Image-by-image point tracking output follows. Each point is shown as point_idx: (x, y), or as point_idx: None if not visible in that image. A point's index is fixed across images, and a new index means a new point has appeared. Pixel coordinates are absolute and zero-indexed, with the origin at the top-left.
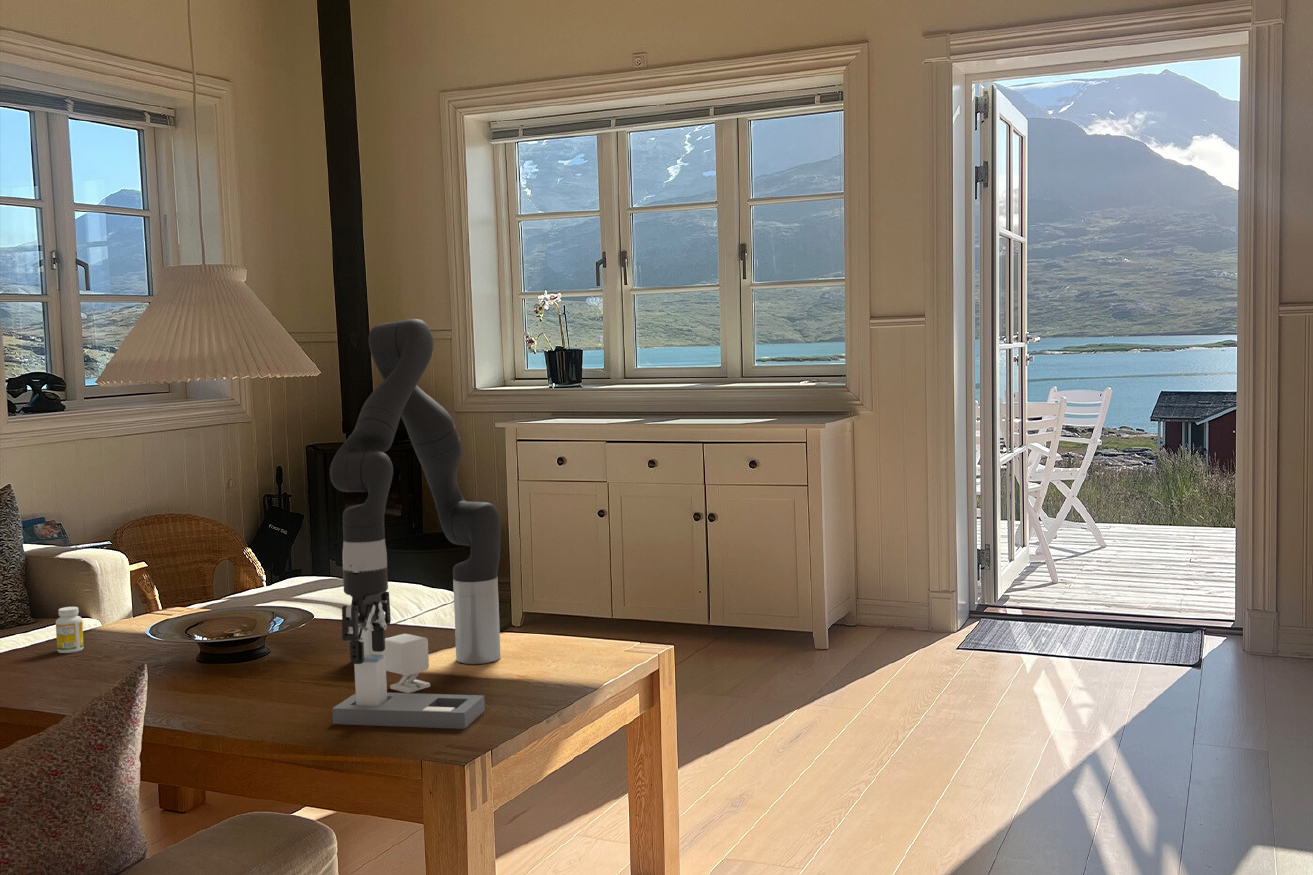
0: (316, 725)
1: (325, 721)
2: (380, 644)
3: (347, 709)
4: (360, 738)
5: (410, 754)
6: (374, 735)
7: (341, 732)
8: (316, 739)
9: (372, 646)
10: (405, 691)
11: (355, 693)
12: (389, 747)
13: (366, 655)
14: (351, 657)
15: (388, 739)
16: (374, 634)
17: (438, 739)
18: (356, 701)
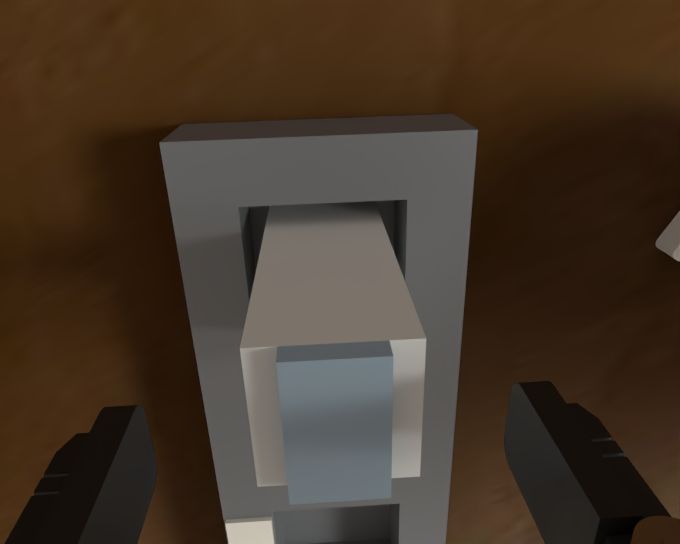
0: (186, 19)
1: (255, 34)
2: (526, 476)
3: (175, 226)
4: (89, 308)
5: (11, 514)
6: (138, 340)
7: (130, 198)
8: (7, 135)
9: (528, 404)
10: (676, 236)
11: (443, 133)
12: (42, 438)
13: (362, 402)
14: (55, 464)
15: (114, 402)
16: (575, 511)
17: (165, 529)
18: (263, 235)
